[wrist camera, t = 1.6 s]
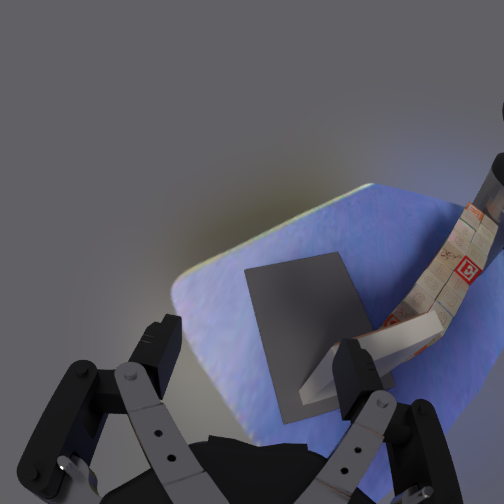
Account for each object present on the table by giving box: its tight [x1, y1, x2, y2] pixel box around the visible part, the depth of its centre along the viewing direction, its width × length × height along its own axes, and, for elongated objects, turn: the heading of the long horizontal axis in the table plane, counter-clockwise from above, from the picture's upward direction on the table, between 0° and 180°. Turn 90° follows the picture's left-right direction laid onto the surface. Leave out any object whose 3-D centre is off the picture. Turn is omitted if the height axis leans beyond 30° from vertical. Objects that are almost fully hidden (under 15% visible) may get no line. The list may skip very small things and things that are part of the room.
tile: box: [299, 310, 444, 405], centre depth 22 cm, size 2×9×15 cm, turn 102°
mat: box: [244, 252, 395, 424], centre depth 33 cm, size 21×14×1 cm, turn 12°
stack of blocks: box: [377, 202, 498, 363], centre depth 30 cm, size 21×6×12 cm, turn 128°
